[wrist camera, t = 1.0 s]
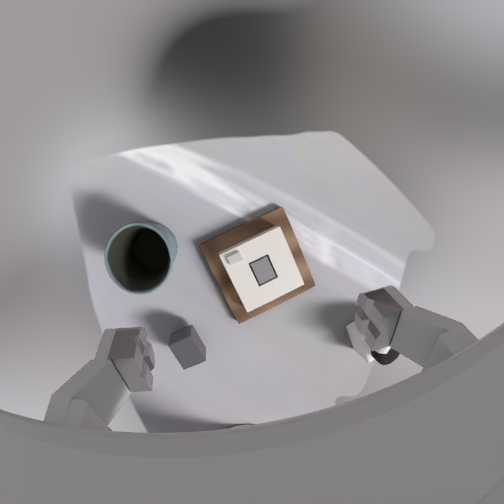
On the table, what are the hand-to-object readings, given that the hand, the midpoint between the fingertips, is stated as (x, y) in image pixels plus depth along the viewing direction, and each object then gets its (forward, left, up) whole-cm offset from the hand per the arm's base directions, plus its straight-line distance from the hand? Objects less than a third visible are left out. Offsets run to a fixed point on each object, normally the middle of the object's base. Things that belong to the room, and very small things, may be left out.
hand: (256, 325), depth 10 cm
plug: (-15, +14, -39) cm, 44 cm away
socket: (-8, -4, -38) cm, 39 cm away
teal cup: (+3, +12, -39) cm, 41 cm away
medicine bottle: (-32, -19, -39) cm, 54 cm away
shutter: (-8, -4, -35) cm, 36 cm away
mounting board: (-8, -4, -39) cm, 40 cm away
